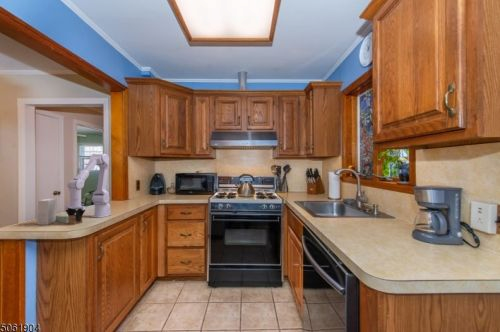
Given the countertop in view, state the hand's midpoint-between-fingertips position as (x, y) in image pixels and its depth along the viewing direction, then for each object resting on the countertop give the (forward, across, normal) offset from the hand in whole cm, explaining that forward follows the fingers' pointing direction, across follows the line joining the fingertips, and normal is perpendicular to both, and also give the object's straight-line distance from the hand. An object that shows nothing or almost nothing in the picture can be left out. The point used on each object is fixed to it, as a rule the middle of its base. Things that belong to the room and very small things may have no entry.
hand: (75, 220), depth 150 cm
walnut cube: (+1, 0, 0) cm, 1 cm away
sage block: (+2, -12, +4) cm, 13 cm away
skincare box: (+2, -15, -6) cm, 16 cm away
